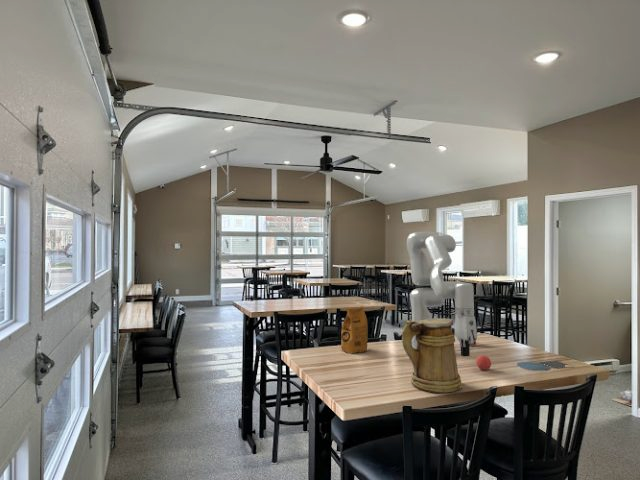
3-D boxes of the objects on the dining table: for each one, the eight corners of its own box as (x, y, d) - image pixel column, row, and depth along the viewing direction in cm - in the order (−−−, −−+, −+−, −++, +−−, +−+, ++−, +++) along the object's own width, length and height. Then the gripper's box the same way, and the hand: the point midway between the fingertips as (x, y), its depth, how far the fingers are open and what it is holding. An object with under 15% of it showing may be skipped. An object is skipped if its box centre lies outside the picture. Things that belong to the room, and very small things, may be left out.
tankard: (472, 390, 153) (472, 322, 154) (416, 397, 146) (416, 325, 146) (442, 376, 171) (442, 314, 171) (391, 381, 163) (391, 317, 163)
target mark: (512, 366, 186) (512, 365, 186) (523, 360, 195) (523, 360, 195) (544, 372, 177) (544, 372, 177) (554, 366, 185) (554, 366, 185)
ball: (473, 369, 180) (473, 355, 180) (480, 366, 184) (480, 353, 184) (487, 372, 176) (487, 358, 176) (493, 369, 180) (493, 355, 180)
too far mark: (555, 368, 182) (555, 368, 182) (538, 362, 192) (538, 361, 192) (574, 367, 185) (574, 366, 185) (556, 361, 195) (556, 360, 195)
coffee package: (338, 350, 211) (338, 306, 212) (357, 347, 218) (357, 304, 219) (350, 354, 203) (351, 309, 203) (370, 351, 210) (370, 307, 211)
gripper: (483, 314, 171) (483, 359, 171) (462, 309, 186) (463, 351, 185) (466, 314, 170) (467, 360, 169) (447, 310, 184) (447, 352, 183)
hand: (465, 355), depth 177 cm, fingers closed
